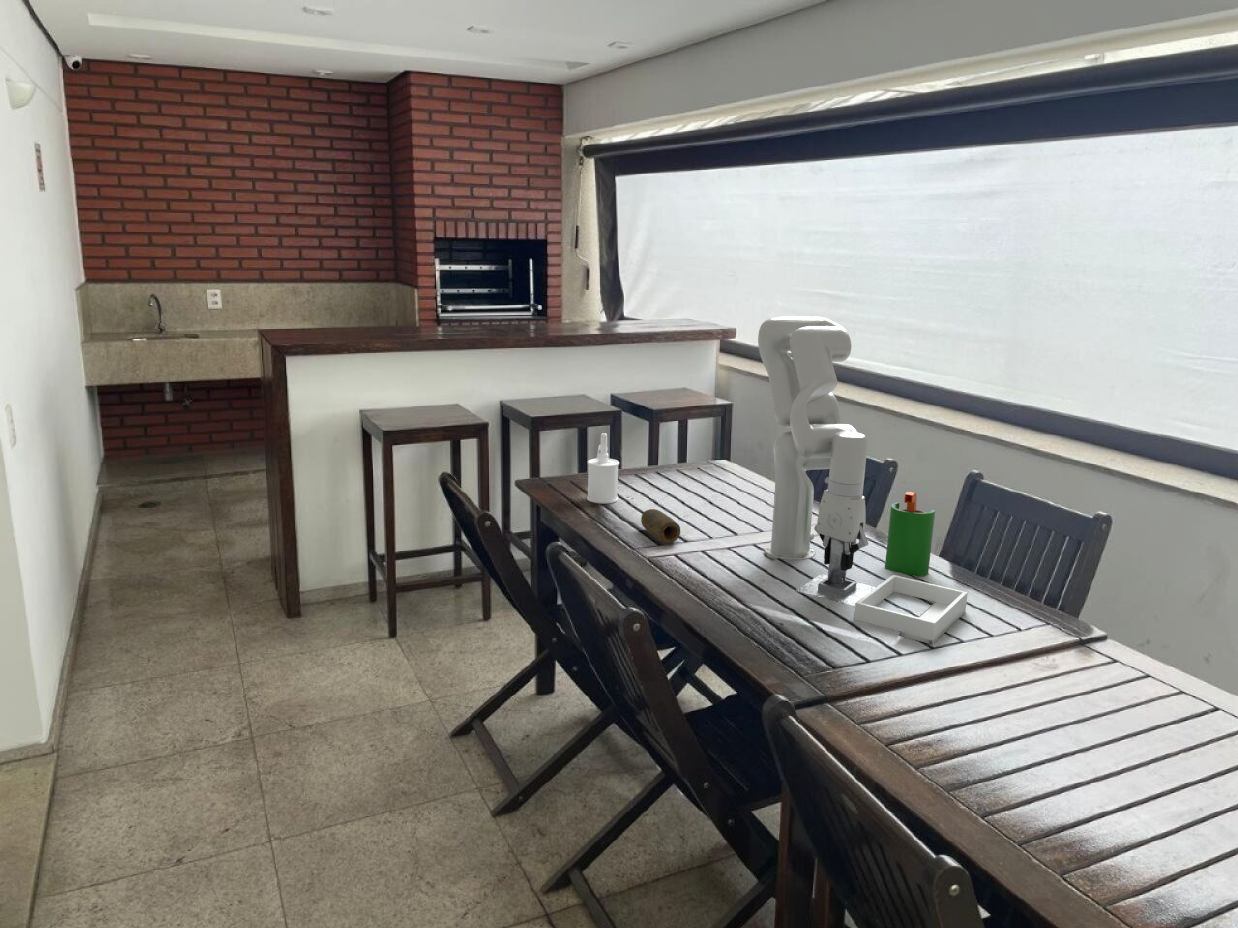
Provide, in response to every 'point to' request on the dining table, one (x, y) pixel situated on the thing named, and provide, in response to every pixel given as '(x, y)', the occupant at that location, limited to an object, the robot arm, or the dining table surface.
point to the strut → (836, 562)
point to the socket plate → (836, 590)
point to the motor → (909, 538)
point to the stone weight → (660, 525)
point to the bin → (918, 628)
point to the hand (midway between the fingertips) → (837, 565)
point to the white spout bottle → (602, 476)
